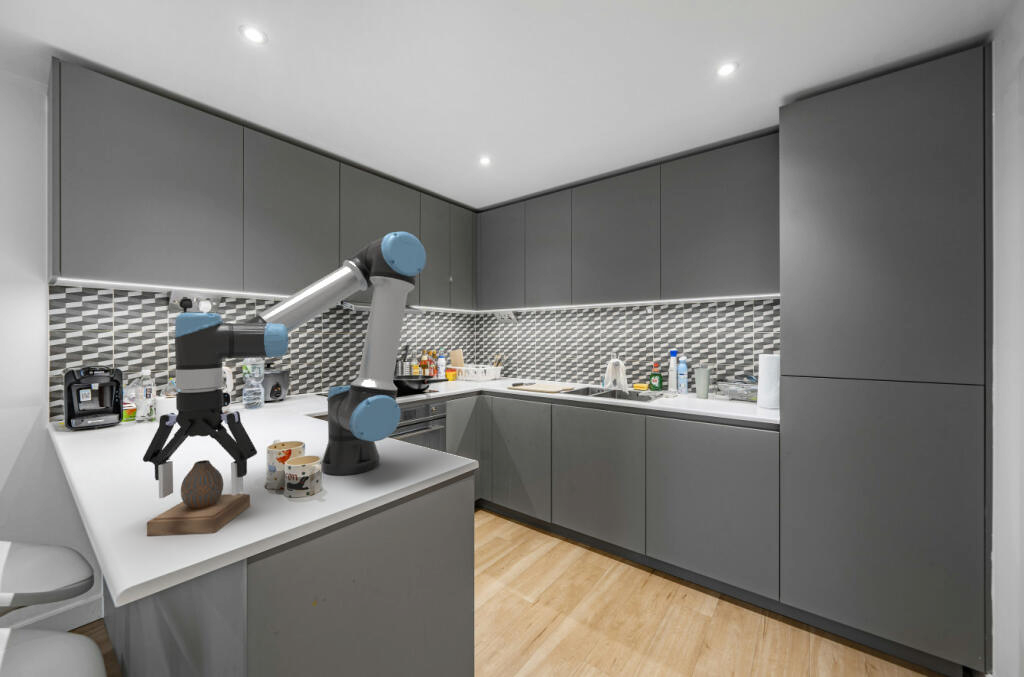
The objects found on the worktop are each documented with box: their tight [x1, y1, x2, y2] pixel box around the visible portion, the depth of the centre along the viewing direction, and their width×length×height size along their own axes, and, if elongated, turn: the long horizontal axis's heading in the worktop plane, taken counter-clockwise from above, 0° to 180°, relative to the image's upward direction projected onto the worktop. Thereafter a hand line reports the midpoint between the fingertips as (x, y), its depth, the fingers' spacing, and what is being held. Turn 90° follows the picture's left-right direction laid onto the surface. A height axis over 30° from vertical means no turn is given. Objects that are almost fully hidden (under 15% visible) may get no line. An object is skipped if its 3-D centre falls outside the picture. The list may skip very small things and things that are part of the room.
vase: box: [180, 459, 224, 509], centre depth 83 cm, size 7×7×9 cm
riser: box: [146, 493, 251, 537], centre depth 83 cm, size 12×12×3 cm
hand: (202, 494), depth 83 cm, fingers open, 13 cm apart
